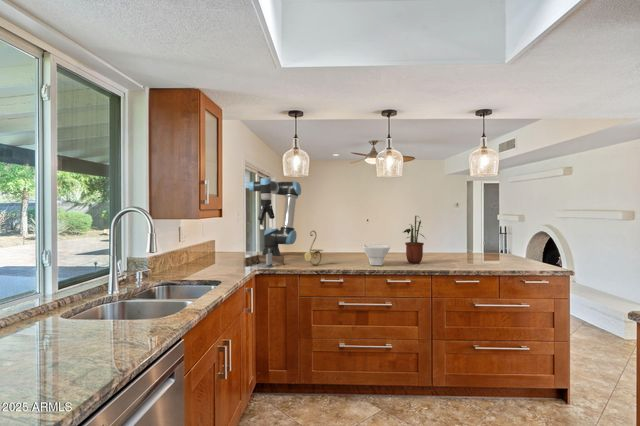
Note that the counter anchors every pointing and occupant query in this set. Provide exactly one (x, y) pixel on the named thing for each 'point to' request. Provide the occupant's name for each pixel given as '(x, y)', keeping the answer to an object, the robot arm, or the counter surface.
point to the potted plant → (414, 246)
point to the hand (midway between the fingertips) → (266, 228)
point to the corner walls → (263, 260)
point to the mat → (268, 267)
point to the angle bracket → (267, 261)
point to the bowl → (376, 253)
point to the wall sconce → (308, 254)
